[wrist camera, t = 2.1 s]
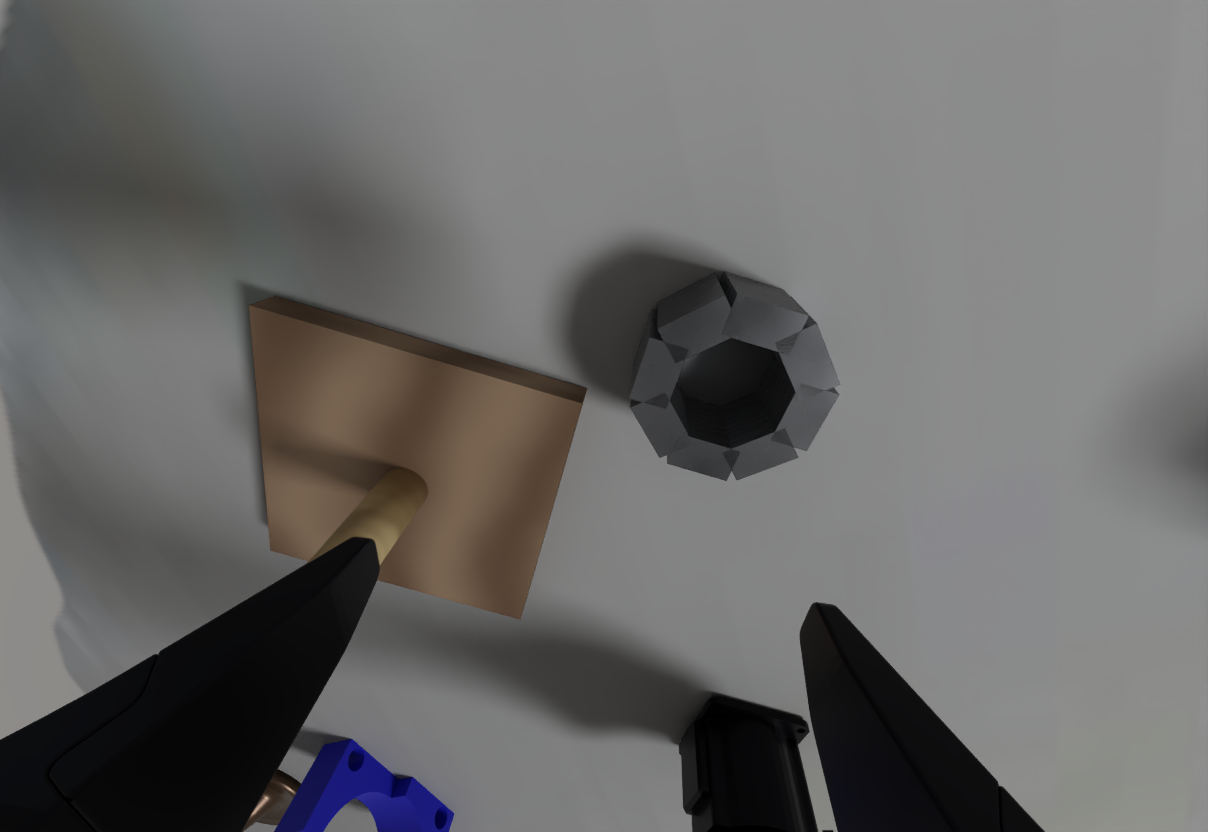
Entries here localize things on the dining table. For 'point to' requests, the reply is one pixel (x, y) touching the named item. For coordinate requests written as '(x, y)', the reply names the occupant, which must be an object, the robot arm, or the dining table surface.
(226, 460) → the dining table surface
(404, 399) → the post block
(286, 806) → the candlestick
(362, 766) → the cable clip
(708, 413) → the ring
